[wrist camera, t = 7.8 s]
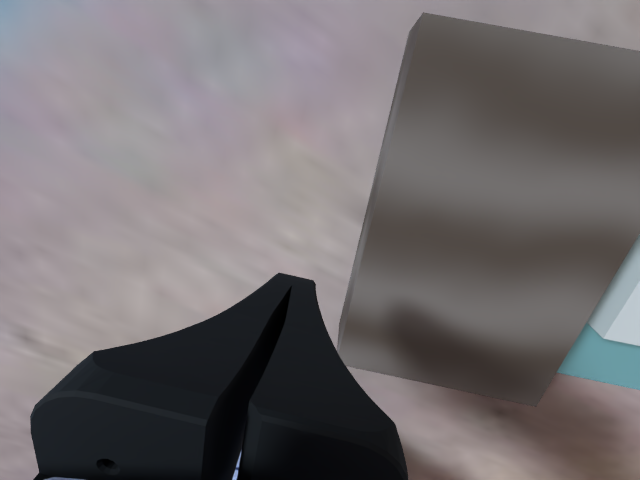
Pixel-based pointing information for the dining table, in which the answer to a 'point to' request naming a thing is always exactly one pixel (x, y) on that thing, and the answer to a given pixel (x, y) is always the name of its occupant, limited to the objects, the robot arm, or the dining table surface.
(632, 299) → the white block
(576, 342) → the mat
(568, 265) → the grey flat block
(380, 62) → the dining table surface
